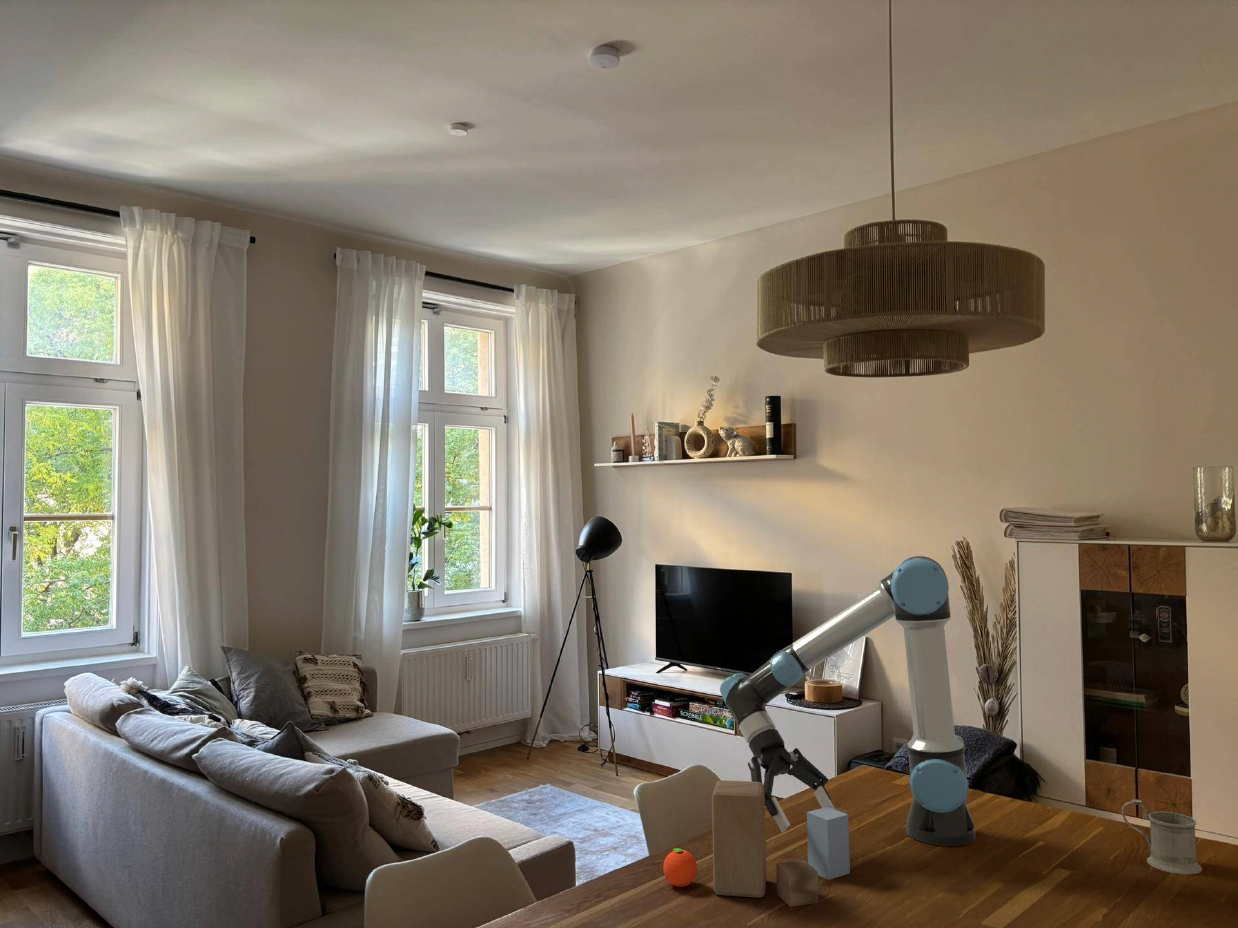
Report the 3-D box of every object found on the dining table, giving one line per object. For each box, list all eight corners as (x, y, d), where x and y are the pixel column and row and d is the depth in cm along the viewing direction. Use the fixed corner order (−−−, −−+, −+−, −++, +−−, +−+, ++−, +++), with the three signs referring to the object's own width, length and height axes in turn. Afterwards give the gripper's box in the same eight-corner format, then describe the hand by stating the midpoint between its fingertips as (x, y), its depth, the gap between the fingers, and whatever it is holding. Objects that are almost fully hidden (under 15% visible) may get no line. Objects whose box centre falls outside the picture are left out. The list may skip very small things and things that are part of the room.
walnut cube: (804, 890, 180) (804, 859, 181) (818, 902, 174) (817, 871, 175) (776, 893, 179) (776, 863, 179) (789, 906, 173) (789, 874, 173)
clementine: (655, 879, 186) (655, 844, 187) (686, 874, 189) (685, 839, 189) (672, 894, 179) (671, 858, 179) (703, 888, 182) (702, 852, 182)
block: (764, 899, 176) (762, 795, 177) (713, 896, 178) (711, 793, 179) (766, 879, 186) (764, 780, 187) (718, 876, 188) (716, 778, 189)
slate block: (828, 863, 193) (827, 806, 194) (849, 872, 188) (848, 814, 189) (808, 870, 190) (806, 812, 191) (829, 879, 185) (827, 819, 186)
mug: (1206, 863, 190) (1203, 805, 191) (1196, 878, 183) (1193, 817, 184) (1129, 847, 200) (1127, 792, 201) (1117, 860, 193) (1114, 803, 193)
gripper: (795, 738, 215) (843, 820, 202) (711, 753, 202) (757, 842, 189) (810, 719, 211) (860, 802, 197) (726, 734, 198) (773, 824, 184)
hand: (810, 822), depth 193 cm, fingers open, 13 cm apart
